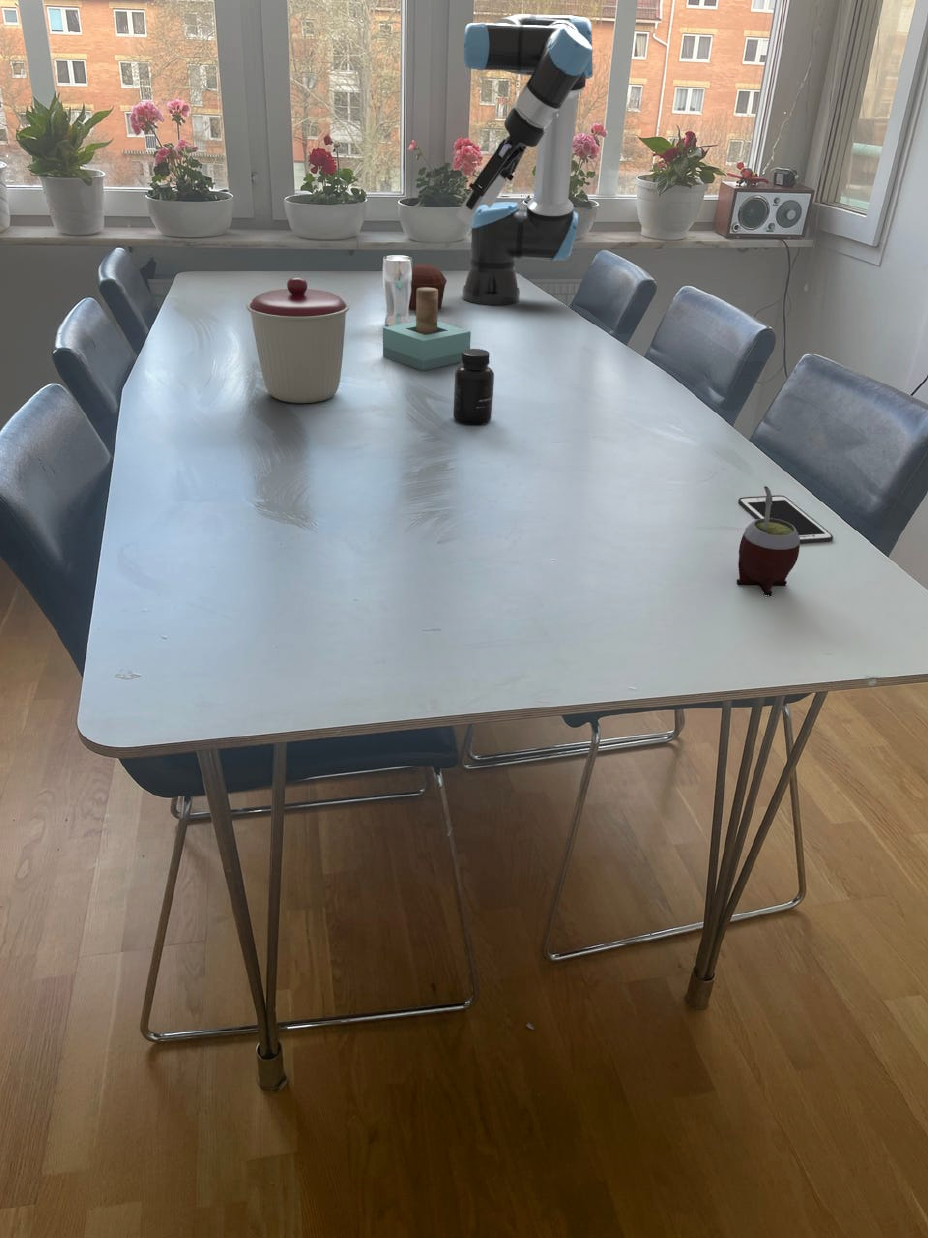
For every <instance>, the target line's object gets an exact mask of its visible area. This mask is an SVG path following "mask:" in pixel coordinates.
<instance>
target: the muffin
mask: <svg viewBox="0 0 928 1238" xmlns="http://www.w3.org/2000/svg"><path fill="white" fill-rule="evenodd" d="M412 269H413V284H412V291H411V297H410V303H409V310H412V311H416V289H418V288H435V289H437V290H438V310H441V309H442V304H443V298H444V293H445V287H446V285H447V281H448V280H447V278H446V277H445V276H444V274H443V273H442V271H441V270H440V269H438V268H437V267H435V266H434V265H430V264H425V263H424V264H423V263H421V264H415V265H414V266H413V265H412Z"/></svg>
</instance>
